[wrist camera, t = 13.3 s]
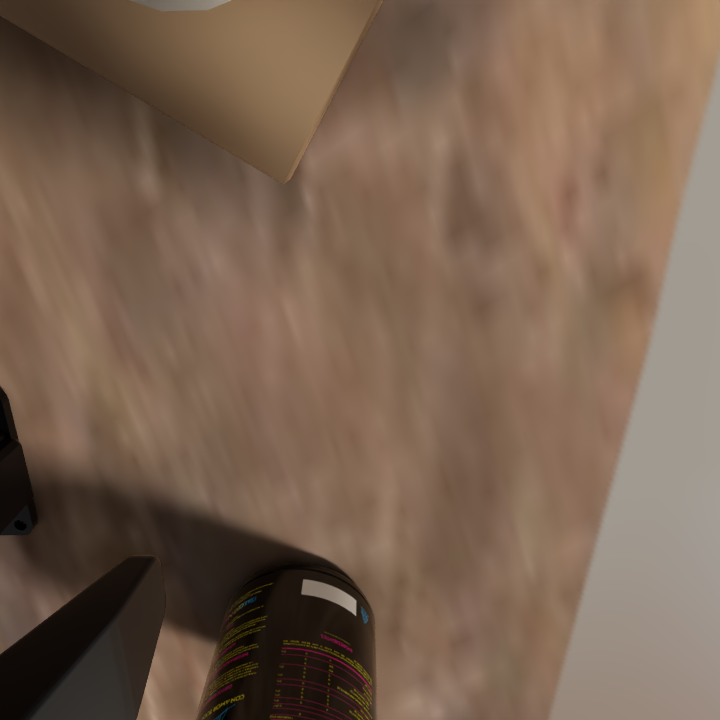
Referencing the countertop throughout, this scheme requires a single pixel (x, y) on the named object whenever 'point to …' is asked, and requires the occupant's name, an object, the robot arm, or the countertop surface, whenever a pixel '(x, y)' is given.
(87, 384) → the countertop surface
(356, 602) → the supplement container
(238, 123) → the tan board
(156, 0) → the can
